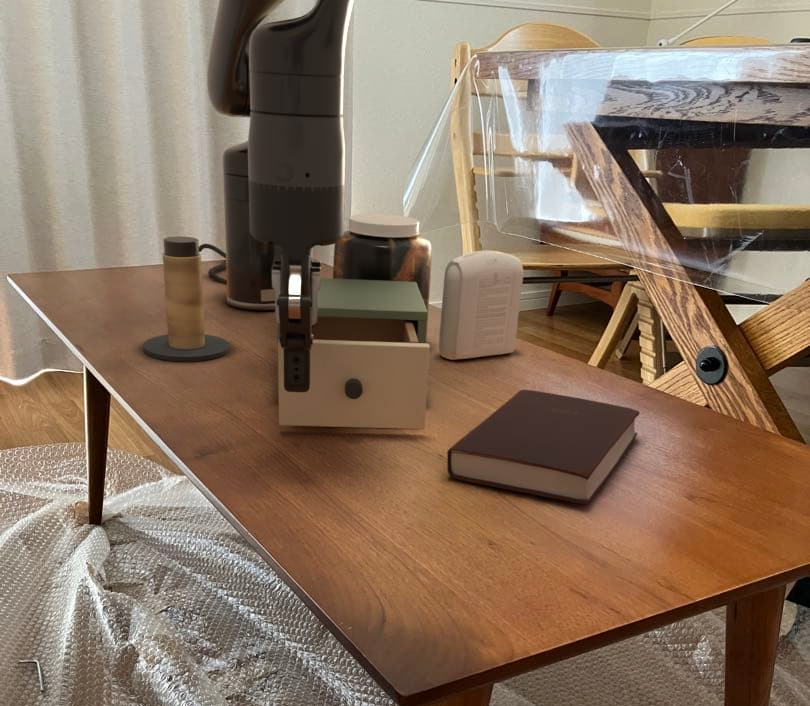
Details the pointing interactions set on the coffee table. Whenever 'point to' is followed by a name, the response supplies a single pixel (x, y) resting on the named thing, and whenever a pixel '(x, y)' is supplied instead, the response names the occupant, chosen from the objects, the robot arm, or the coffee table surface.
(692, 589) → the coffee table surface
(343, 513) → the coffee table surface
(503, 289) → the cream rounded block
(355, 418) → the drawer
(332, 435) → the coffee table surface
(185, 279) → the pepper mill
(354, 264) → the jar
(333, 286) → the cabinet
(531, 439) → the book
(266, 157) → the robot arm
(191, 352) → the coaster
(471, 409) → the coffee table surface
